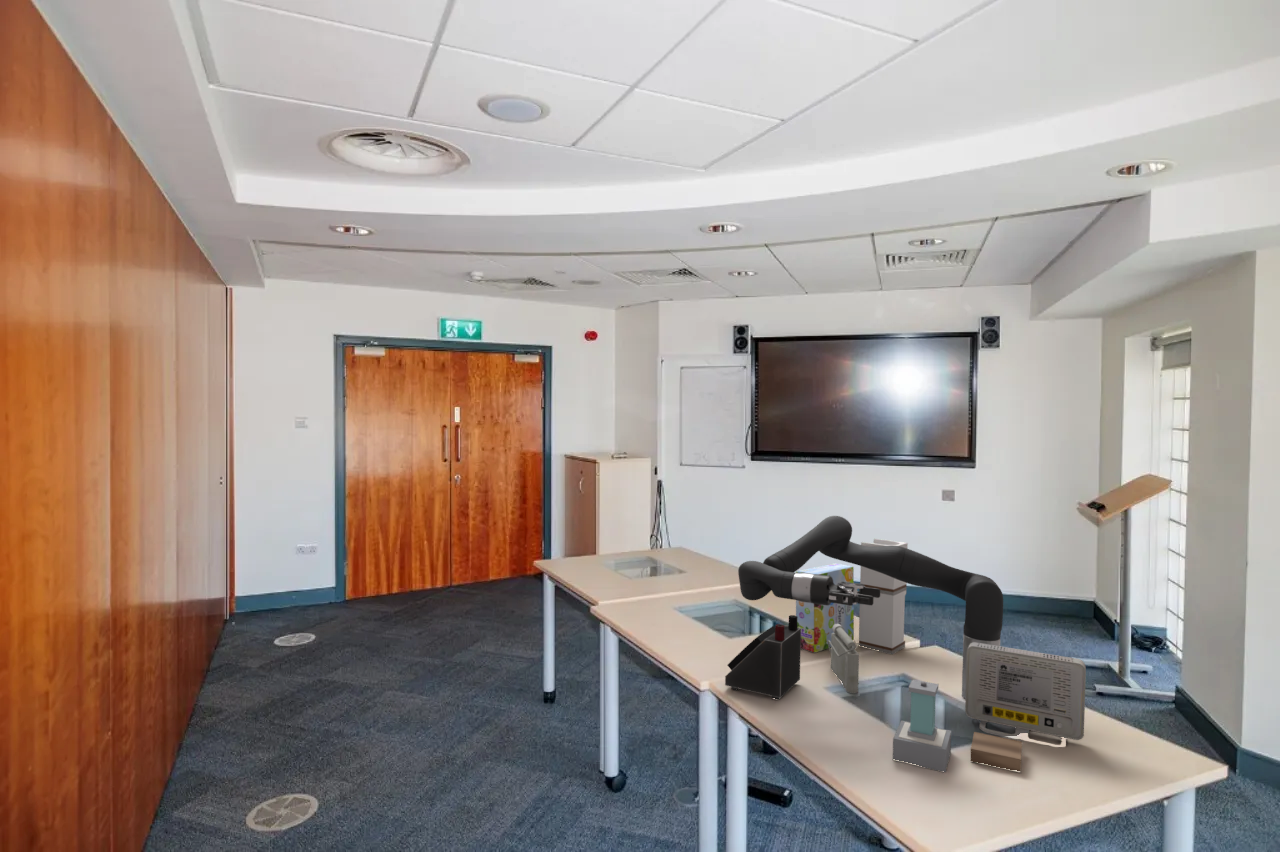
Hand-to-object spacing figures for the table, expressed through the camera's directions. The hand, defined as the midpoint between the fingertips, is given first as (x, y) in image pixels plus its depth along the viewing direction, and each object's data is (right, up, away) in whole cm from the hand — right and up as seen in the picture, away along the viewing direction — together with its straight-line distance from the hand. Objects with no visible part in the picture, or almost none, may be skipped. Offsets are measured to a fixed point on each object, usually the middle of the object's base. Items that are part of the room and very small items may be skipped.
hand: (876, 597), depth 182 cm
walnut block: (+22, -33, -16) cm, 43 cm away
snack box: (+3, -31, +64) cm, 71 cm away
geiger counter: (0, -32, +33) cm, 46 cm away
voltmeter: (-24, -31, +24) cm, 47 cm away
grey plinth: (+5, -32, -16) cm, 37 cm away
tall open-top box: (+22, -31, +62) cm, 73 cm away
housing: (+5, -27, -16) cm, 32 cm away
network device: (+35, -33, -3) cm, 48 cm away
